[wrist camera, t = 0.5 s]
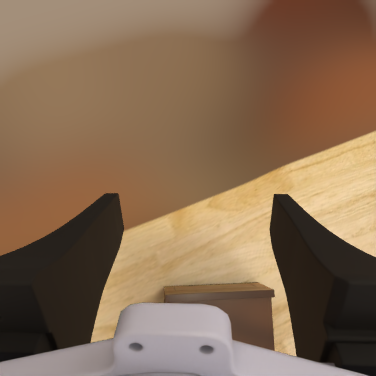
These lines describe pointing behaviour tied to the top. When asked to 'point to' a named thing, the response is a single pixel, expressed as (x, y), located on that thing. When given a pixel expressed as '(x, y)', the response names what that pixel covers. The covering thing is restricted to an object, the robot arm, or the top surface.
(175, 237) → the top surface
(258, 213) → the top surface
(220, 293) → the wooden box
